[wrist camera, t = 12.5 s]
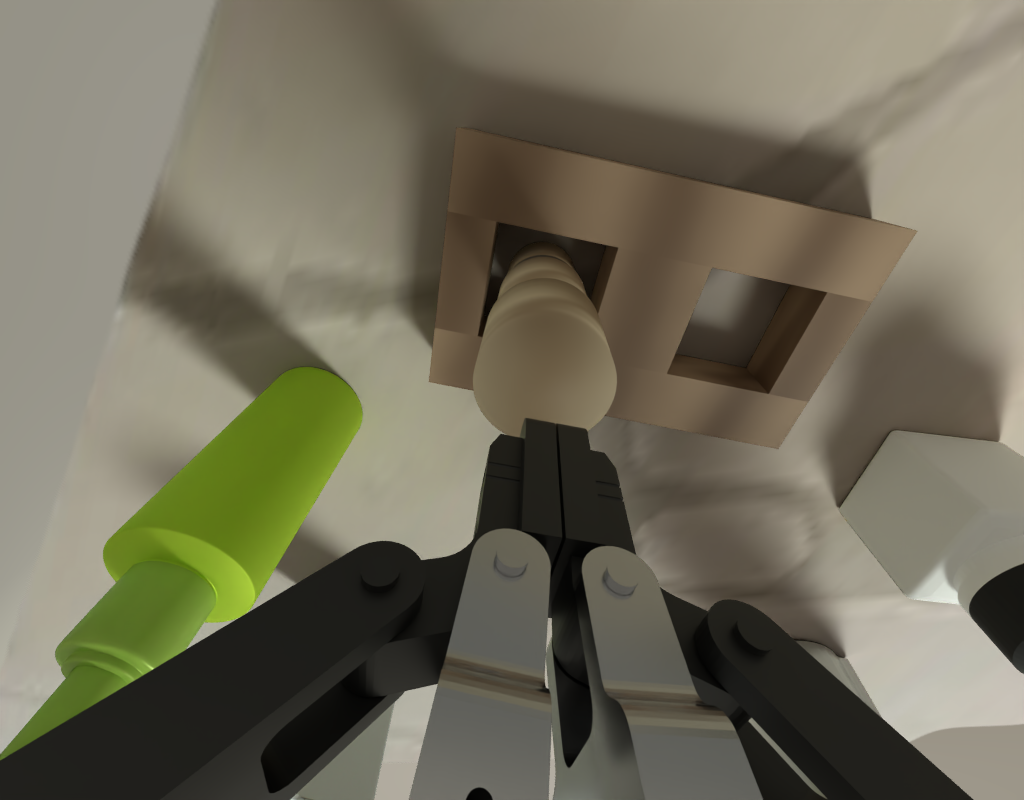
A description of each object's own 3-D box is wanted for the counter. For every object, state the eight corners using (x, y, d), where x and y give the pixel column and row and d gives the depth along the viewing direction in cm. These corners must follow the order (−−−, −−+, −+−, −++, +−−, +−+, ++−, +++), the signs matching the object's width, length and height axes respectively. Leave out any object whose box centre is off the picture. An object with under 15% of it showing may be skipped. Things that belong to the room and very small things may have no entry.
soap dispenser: (392, 428, 30) (193, 833, 13) (303, 451, 31) (16, 843, 14) (349, 351, 27) (20, 738, 10) (253, 380, 28) (-181, 762, 11)
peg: (592, 243, 23) (637, 334, 13) (570, 322, 25) (593, 454, 15) (508, 226, 23) (484, 303, 12) (493, 307, 25) (463, 430, 15)
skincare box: (306, 590, 39) (196, 810, 27) (343, 559, 37) (240, 784, 24) (384, 632, 42) (318, 849, 29) (423, 605, 40) (369, 830, 27)
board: (872, 219, 22) (920, 231, 19) (756, 419, 28) (779, 450, 25) (466, 127, 21) (455, 127, 18) (439, 357, 27) (427, 383, 24)
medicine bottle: (834, 509, 31) (977, 693, 21) (889, 427, 28) (1095, 601, 17) (934, 521, 32) (1124, 710, 21) (1002, 440, 28) (1273, 621, 18)
